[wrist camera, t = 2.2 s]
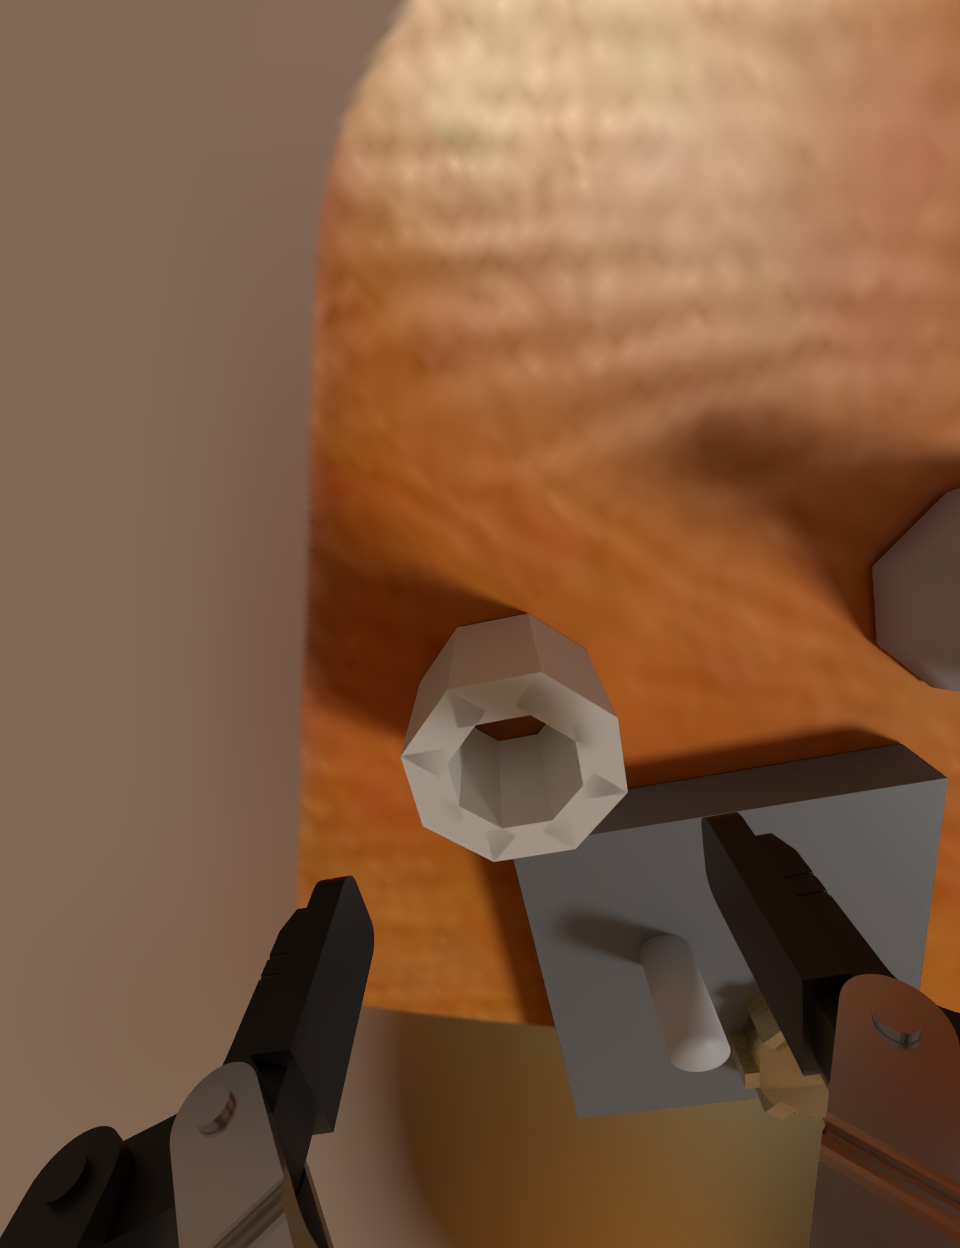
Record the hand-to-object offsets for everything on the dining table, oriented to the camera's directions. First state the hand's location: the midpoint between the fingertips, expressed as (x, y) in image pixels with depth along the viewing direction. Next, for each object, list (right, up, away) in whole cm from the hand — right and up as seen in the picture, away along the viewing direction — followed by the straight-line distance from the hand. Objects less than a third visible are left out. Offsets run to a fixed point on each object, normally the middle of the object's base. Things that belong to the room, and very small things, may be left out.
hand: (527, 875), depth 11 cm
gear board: (+9, -8, +11) cm, 16 cm away
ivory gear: (0, +3, +7) cm, 8 cm away
